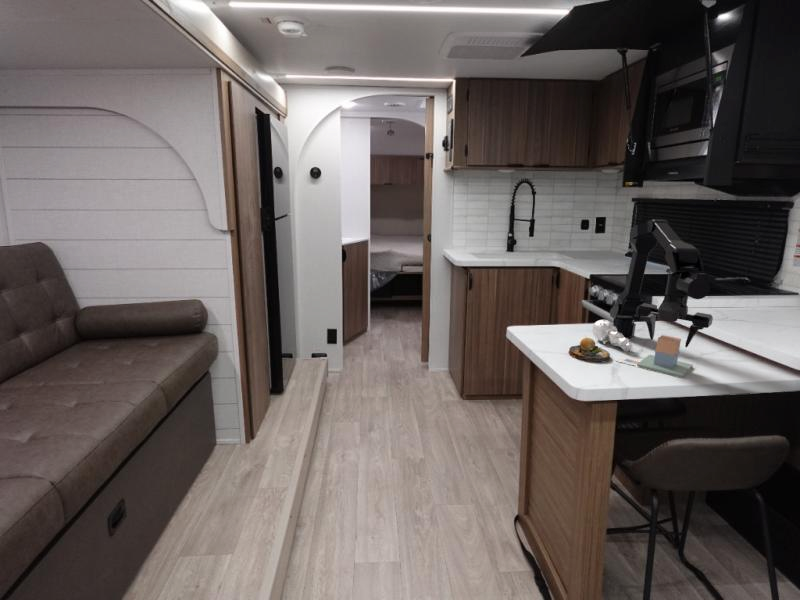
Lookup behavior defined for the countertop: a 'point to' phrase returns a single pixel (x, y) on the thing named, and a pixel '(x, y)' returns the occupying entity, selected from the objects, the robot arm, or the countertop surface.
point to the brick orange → (668, 345)
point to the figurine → (610, 334)
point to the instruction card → (629, 361)
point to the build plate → (678, 370)
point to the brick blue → (665, 359)
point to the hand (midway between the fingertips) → (668, 343)
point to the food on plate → (589, 351)
